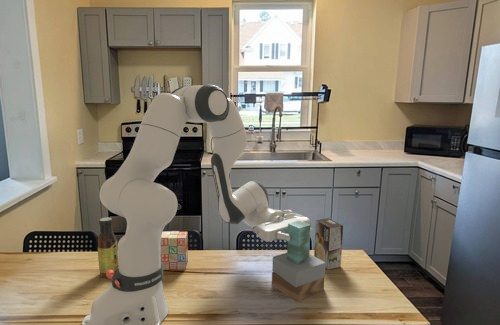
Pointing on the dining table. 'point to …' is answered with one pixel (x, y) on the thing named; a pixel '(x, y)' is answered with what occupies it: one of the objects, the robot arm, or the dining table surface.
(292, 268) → the tower top
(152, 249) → the robot arm
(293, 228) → the teal block
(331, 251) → the coffee box
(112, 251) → the sauce bottle
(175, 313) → the dining table surface
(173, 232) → the stack of blocks
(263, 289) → the dining table surface
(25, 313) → the dining table surface
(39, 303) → the dining table surface
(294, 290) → the tower base
